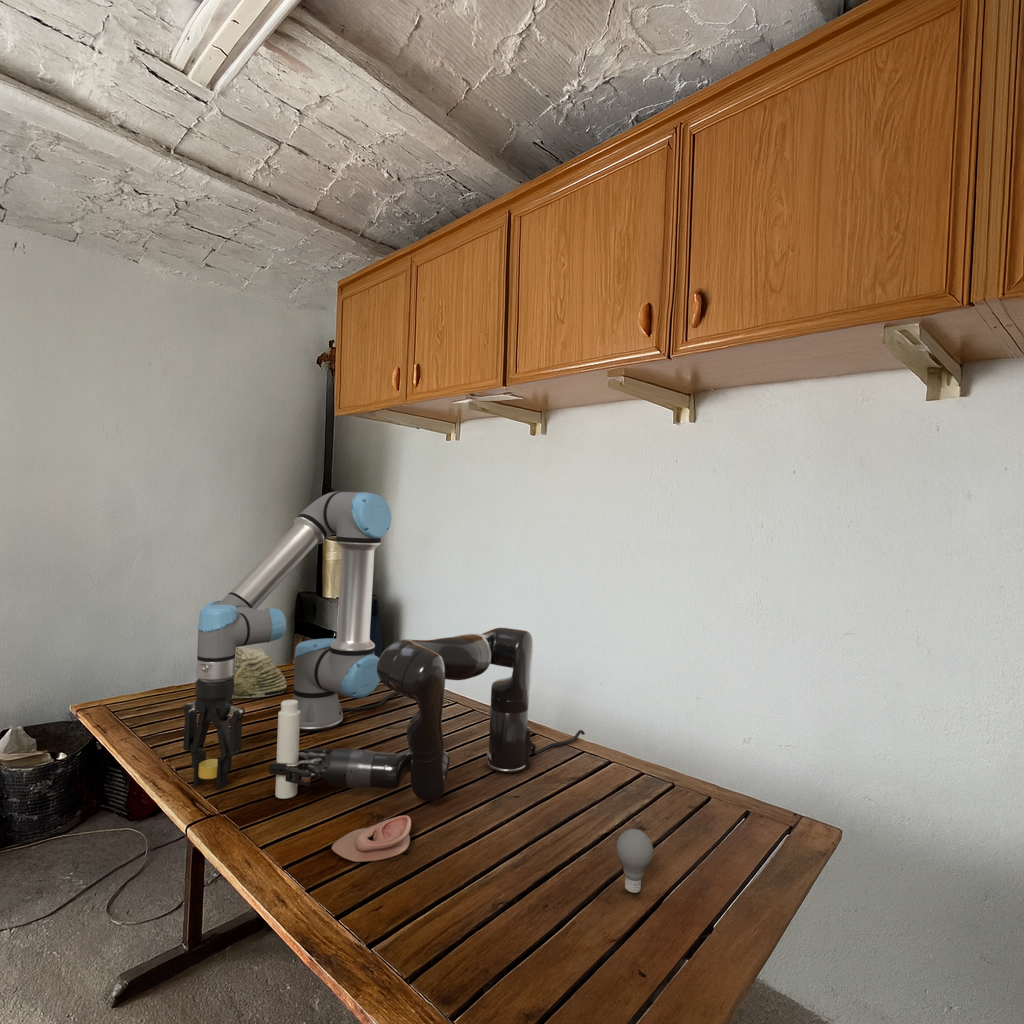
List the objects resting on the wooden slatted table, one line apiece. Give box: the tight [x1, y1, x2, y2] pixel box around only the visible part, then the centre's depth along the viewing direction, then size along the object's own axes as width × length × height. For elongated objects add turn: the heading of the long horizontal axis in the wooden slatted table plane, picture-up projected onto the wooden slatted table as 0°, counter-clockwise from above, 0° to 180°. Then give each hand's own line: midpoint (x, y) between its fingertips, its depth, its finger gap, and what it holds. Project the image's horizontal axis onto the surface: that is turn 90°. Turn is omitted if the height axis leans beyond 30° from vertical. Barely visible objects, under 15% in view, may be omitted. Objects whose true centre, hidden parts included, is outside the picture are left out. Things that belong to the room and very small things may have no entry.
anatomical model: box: [331, 814, 412, 863], centre depth 116 cm, size 13×4×12 cm
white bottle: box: [274, 699, 300, 800], centre depth 134 cm, size 4×4×20 cm
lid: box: [198, 758, 218, 780], centre depth 137 cm, size 5×5×2 cm
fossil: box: [232, 646, 288, 699], centre depth 198 cm, size 9×18×15 cm, turn 132°
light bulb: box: [615, 828, 654, 894], centre depth 106 cm, size 6×6×10 cm
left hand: (210, 784), depth 137 cm, fingers closed on lid, 5 cm apart
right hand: (274, 763), depth 134 cm, fingers closed on white bottle, 4 cm apart
